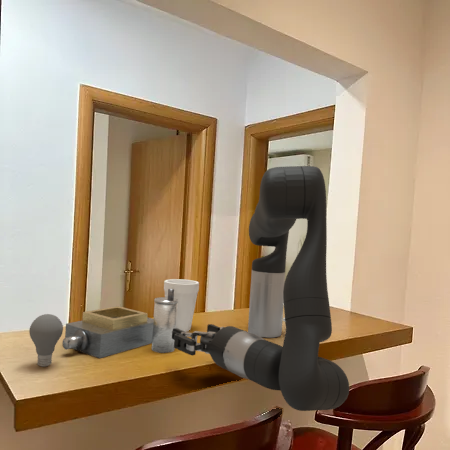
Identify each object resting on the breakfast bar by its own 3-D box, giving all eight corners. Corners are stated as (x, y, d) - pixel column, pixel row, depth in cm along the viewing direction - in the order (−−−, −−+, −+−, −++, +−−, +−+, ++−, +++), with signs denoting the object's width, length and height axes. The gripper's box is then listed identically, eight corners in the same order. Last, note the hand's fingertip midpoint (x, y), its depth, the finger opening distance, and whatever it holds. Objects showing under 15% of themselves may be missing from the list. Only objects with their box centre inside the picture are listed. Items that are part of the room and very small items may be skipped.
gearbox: (125, 331, 108) (127, 303, 108) (159, 341, 102) (161, 311, 102) (48, 349, 90) (50, 316, 90) (83, 363, 83) (85, 327, 83)
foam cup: (190, 335, 108) (193, 285, 108) (156, 331, 110) (159, 282, 110) (199, 326, 118) (202, 281, 118) (168, 323, 119) (171, 278, 119)
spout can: (162, 344, 99) (166, 285, 99) (179, 349, 96) (183, 289, 96) (146, 349, 95) (150, 287, 95) (163, 354, 92) (167, 291, 92)
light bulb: (59, 370, 79) (62, 318, 79) (24, 372, 77) (27, 318, 77) (62, 360, 84) (65, 311, 84) (30, 361, 83) (32, 311, 83)
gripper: (272, 327, 78) (219, 310, 91) (210, 336, 69) (162, 315, 82) (269, 367, 78) (217, 344, 91) (207, 381, 69) (160, 353, 82)
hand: (191, 330), depth 87 cm, fingers open, 8 cm apart
